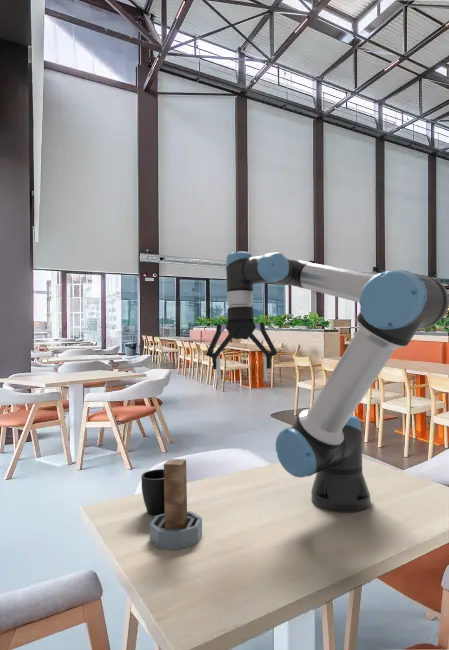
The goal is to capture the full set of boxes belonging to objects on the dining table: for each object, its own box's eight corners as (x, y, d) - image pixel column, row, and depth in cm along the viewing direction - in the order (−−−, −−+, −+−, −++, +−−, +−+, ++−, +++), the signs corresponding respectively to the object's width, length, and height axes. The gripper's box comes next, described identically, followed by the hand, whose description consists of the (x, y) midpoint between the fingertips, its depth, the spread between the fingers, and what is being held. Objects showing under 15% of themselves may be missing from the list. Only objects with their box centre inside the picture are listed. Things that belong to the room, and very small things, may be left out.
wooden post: (187, 530, 96) (186, 459, 97) (182, 538, 92) (181, 464, 93) (170, 529, 97) (169, 458, 97) (165, 537, 93) (163, 464, 93)
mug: (156, 526, 100) (155, 486, 100) (137, 510, 110) (136, 473, 110) (187, 518, 104) (186, 478, 105) (165, 502, 114) (165, 467, 115)
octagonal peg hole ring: (205, 527, 99) (204, 512, 99) (194, 550, 88) (193, 533, 88) (160, 525, 101) (160, 510, 101) (144, 547, 90) (144, 530, 90)
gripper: (284, 306, 124) (286, 379, 123) (200, 309, 128) (202, 379, 127) (283, 304, 117) (285, 381, 116) (195, 307, 120) (196, 382, 120)
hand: (242, 380), depth 122 cm, fingers open, 13 cm apart
